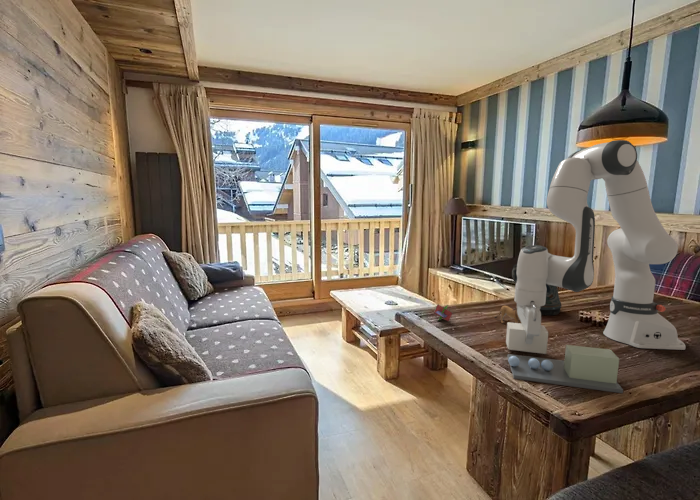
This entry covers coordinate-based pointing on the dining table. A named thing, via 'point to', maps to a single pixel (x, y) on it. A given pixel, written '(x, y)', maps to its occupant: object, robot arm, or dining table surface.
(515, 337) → the beige eraser-shaped brick
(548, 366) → the marble
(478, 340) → the dining table surface
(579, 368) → the pale green prism
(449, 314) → the geometric puzzle
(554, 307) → the beer stein
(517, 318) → the lion figurine
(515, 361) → the marble
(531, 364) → the marble
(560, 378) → the slate board
